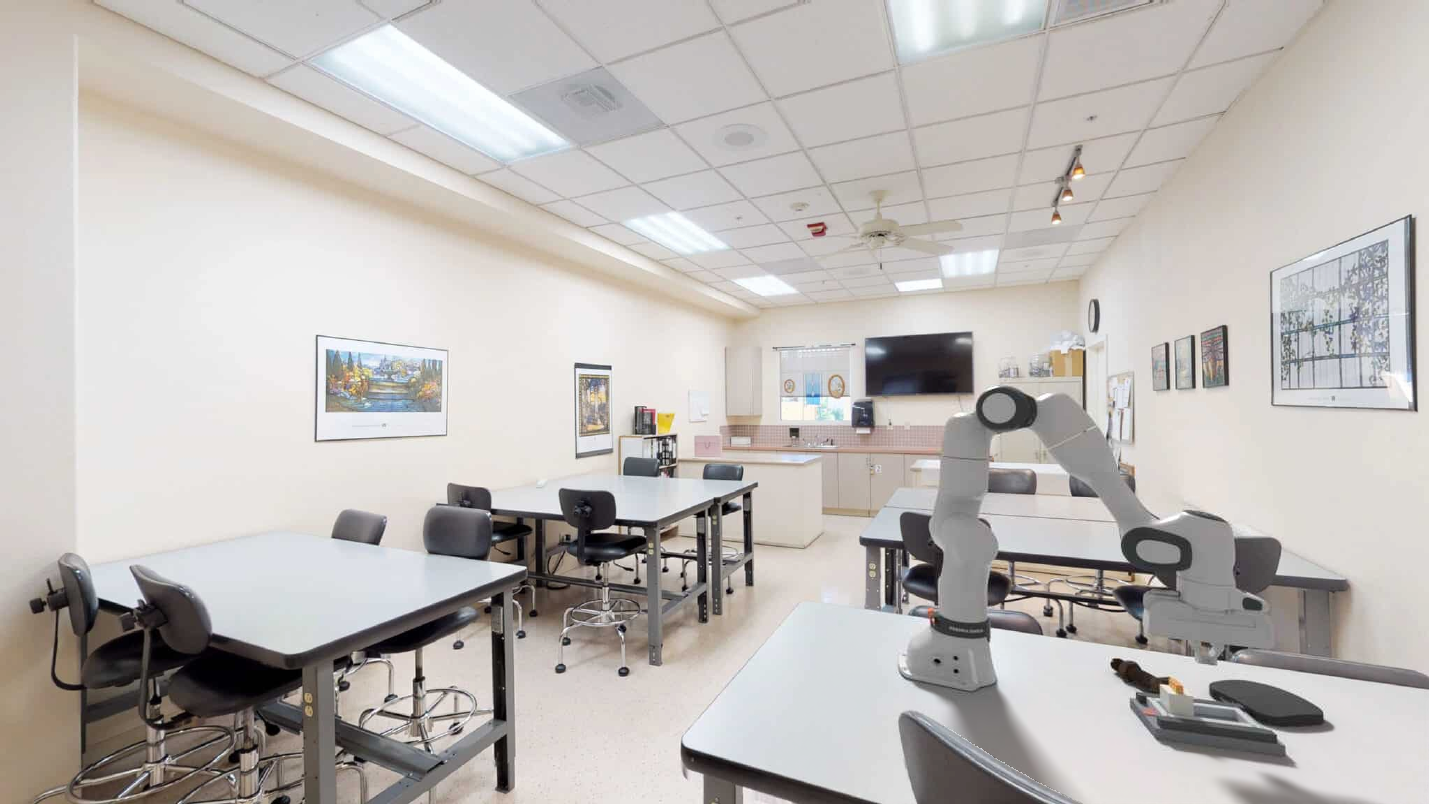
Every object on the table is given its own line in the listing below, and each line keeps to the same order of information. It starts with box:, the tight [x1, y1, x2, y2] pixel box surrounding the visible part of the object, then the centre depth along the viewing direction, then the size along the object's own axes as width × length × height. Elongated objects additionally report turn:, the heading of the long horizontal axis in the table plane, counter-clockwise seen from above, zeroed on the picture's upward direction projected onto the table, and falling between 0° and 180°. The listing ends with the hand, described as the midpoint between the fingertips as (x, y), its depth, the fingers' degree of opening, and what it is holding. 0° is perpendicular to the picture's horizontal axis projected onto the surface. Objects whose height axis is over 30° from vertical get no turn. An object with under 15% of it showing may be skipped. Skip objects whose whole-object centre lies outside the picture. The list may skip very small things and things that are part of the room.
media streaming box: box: [1208, 679, 1325, 728], centre depth 118 cm, size 15×15×3 cm
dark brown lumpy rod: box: [1109, 657, 1173, 694], centre depth 128 cm, size 6×5×15 cm
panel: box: [1129, 691, 1287, 757], centre depth 110 cm, size 20×12×4 cm, turn 72°
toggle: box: [1160, 678, 1194, 717], centre depth 111 cm, size 4×4×7 cm
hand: (1205, 663), depth 110 cm, fingers closed
